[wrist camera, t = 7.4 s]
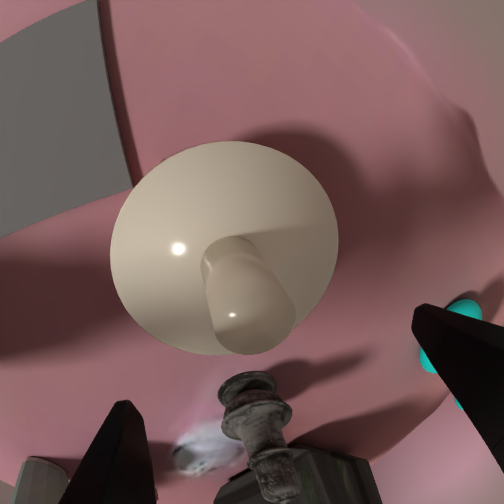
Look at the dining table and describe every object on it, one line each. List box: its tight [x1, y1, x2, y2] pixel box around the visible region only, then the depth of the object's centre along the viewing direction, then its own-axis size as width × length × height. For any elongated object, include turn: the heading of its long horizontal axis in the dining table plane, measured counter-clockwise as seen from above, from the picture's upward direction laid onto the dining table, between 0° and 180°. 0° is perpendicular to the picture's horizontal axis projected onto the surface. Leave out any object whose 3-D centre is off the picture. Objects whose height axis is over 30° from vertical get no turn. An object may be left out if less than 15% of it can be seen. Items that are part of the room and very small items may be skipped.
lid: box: [110, 141, 338, 355], centre depth 12 cm, size 11×11×5 cm
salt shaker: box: [218, 371, 302, 504], centre depth 19 cm, size 6×6×12 cm
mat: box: [0, 0, 134, 238], centre depth 12 cm, size 12×12×1 cm
